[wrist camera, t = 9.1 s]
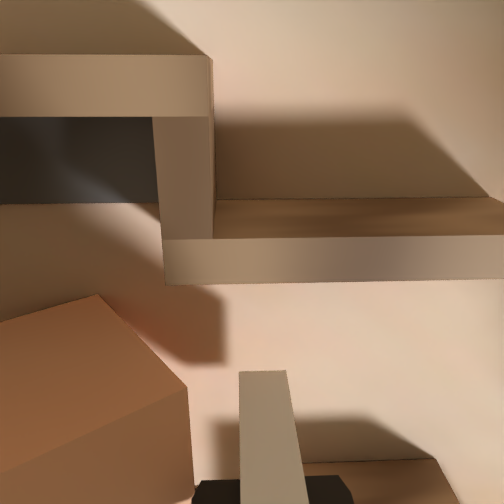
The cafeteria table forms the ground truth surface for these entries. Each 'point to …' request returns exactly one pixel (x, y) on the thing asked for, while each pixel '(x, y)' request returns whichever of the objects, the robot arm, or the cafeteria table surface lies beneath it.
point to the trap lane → (226, 204)
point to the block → (89, 412)
